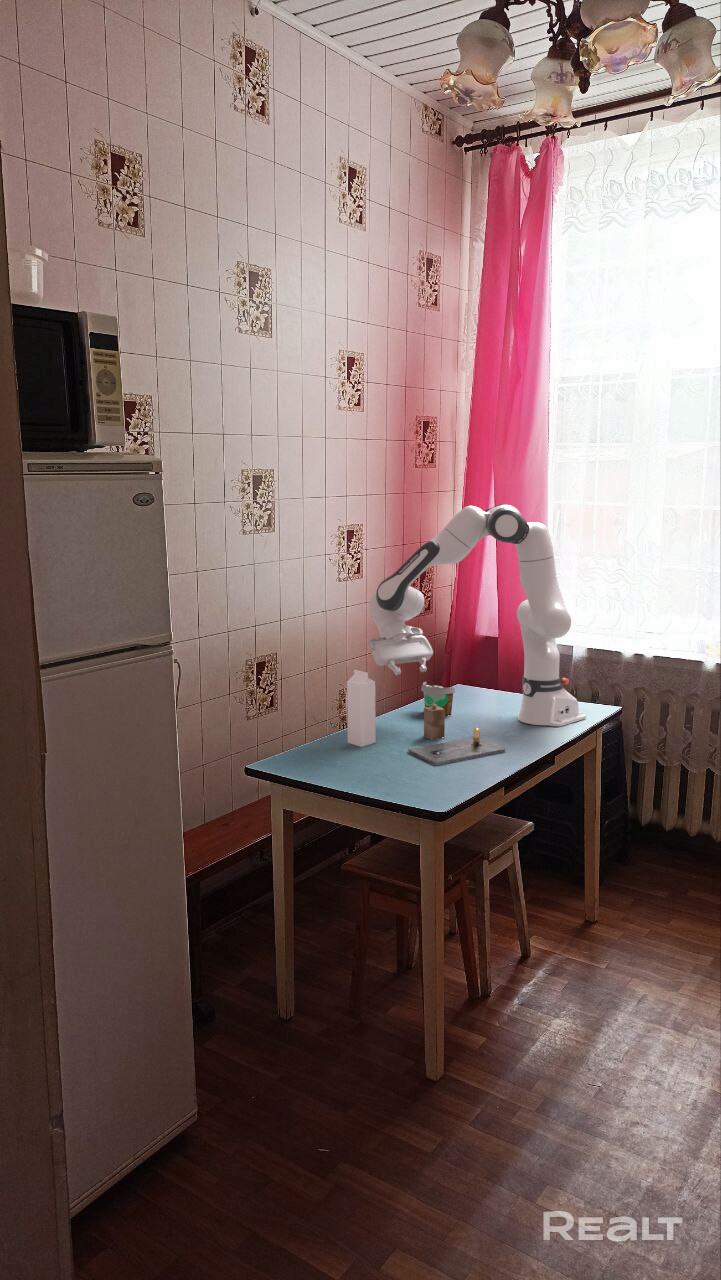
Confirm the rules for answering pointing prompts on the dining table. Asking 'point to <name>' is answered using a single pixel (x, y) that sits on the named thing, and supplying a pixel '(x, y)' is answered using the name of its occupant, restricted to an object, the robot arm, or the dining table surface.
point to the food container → (438, 696)
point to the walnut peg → (434, 722)
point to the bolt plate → (456, 750)
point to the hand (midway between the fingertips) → (411, 672)
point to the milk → (361, 709)
